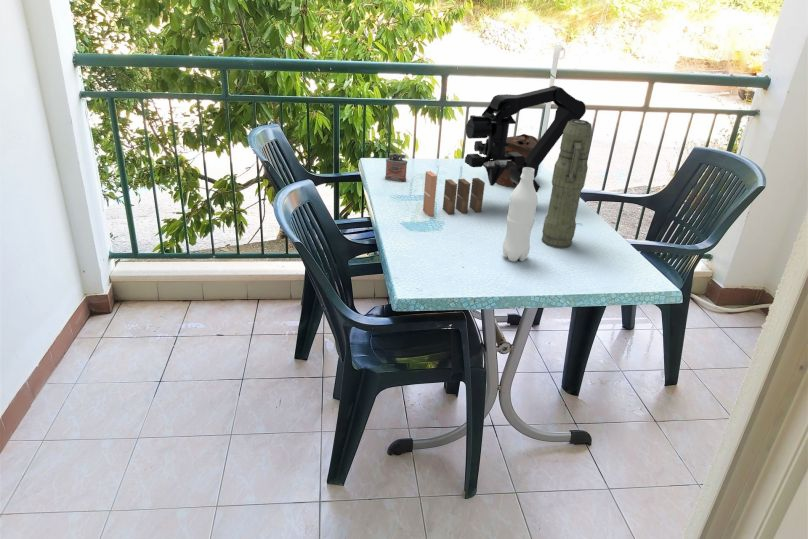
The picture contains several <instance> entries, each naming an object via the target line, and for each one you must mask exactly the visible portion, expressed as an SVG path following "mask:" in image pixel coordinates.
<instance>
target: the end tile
mask: <svg viewBox="0 0 808 539" xmlns="http://www.w3.org/2000/svg"><path fill="white" fill-rule="evenodd" d="M424 178H425V179H424V190H423V201H422V202H423V204H422V211H423V213H424V214H426V215H427V216H428V217H432V216H433V217H434V216H435V205H436V196H437V194H436V192H437V181H438V176H437V175H436V174H435V172H433V171H431V170H430V171H429V170H428V171H425V177H424Z"/></svg>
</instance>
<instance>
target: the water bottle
mask: <svg viewBox="0 0 808 539" xmlns="http://www.w3.org/2000/svg"><path fill="white" fill-rule="evenodd" d="M534 170H535V169H533V168H530V167H524V168H523V170H522V174H521V176H520V178H521V180H520V182H519V184H518V185H517V187H516V188H515V187H514V189H513V191H512V192H511V195H510V197H509V203H508V204H509V206H508V213H507V216H506V234H505V237H504V240H503V241H502V242H503V243H502V254H503V257H504V258H505V259H508V261H510V262H517V261H518V260H519V261H520V262H523V261H525V260H526V259H527V257H528V256H529V254H530V249H531V245H530V244H531V243H530V241H531V239H530V238H531V233H532V229H533V227H534V224H535V217H536V212H537V211H536V210H537V206H538V202H539V200H538V199H539V198H538V194H537V192H536V191H535V188H534V185H533V180H534Z"/></svg>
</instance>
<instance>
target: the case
mask: <svg viewBox="0 0 808 539" xmlns="http://www.w3.org/2000/svg"><path fill="white" fill-rule="evenodd" d="M539 140H540V139H538V138H537V137H535V136H533V135H529V134H526V133H523V134H520V135H513V136H508V137H507V142H508V143H509V145H508V146H506V151H505V155H506V154H507V153H510V152H517V153H519V154H521V155H523V156H524V158H526V157H527V156H528V155H529V153H530V152H531V151H532V149H533V148H534V147H535V145H536V144H537V143H538V141H539ZM506 165H507V166H508V168H506V169H505V170H504V171H503V173H502V174H501V175H500V177H499V178H498V180H497V181H496V183H497V184H498V185H501V186H505V187H511V188H515V187H516V186H514V185H513V183H512V180H511V179H510V174H509V172H510V170H511V169H512V168H510V167H511V166H513V165H514V162H507V163H506ZM496 183H495V184H496Z"/></svg>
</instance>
